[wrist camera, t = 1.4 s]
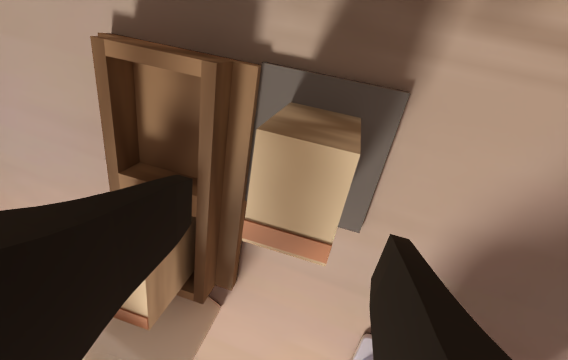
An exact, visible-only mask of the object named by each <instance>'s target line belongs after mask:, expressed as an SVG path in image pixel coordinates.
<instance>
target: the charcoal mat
mask: <svg viewBox="0 0 568 360" xmlns="http://www.w3.org/2000/svg"><path fill="white" fill-rule="evenodd" d="M409 95H410V93H409V92H406V91H401V90H396V89H391V88H386V87H382V86H377V85H372V84H367V83H363V82H358V81H353V80H348V79H343V78H339V77H334V76H329V75H324V74H320V73H315V72H310V71H305V70H300V69H296V68H291V67H286V66H281V65H276V64H272V63H267V62H262V64H261V72H260V80H259V88H258V96H257V104H256V112H255V120H254V128H253V136H252V145H251V153H250V161H249V169H248V177H247V185H246V193H245V201H247V199H248V191H249V183H250V175H251V168H252V160H253V152H254V144H255V137H256V129H257V128H258V127H260V126H261V125H262V124H263V123H265V122H266V121H267V120H269V119H270V118H271V117H272V116H274V115H275V114H276V113H278V112H279V111H280V110H281V109H283V108H284V107H285V106H287V105H288V104H289V103H290V102H292V103H297V104H301V105H306V106H310V107H314V108H319V109H323V110H328V111H332V112H337V113H341V114H345V115H350V116H354V117H359V118H361V151H360V157H359V161H358V164H357V167H356V170H355V173H354V176H353V180H352V183H351V186H350V189H349V192H348V195H347V199H346V202H345V205H344V208H343V211H342V214H341V218H340V221H339V224H338V227H340V228H343V229H347V230H350V231H354V232H357V233H360V230H361V227H362V224H363V222H364V219H365V216H366V213H367V211H368V208H369V205H370V202H371V200H372V197H373V194H374V191H375V189H376V186H377V183H378V180H379V178H380V175H381V172H382V169H383V167H384V164H385V161H386V158H387V156H388V153H389V150H390V147H391V144H392V142H393V139H394V136H395V133H396V131H397V128H398V125H399V122H400V120H401V117H402V114H403V111H404V109H405V106H406V103H407V100H408V98H409Z"/></svg>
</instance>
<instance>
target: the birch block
mask: <svg viewBox="0 0 568 360" xmlns="http://www.w3.org/2000/svg"><path fill="white" fill-rule="evenodd" d="M360 151H361V118H359V117H354V116H350V115H345V114H341V113H337V112H332V111H328V110H323V109H319V108H314V107H310V106H306V105H301V104H297V103H292V102H290V103H289V104H288V105H287V106H285V107H284V108H283V109H281V110H280V111H279V112H278V113H276V114H275V115H274V116H272V117H271V118H270V119H269V120H267V121H266V122H265V123H263V124H262V125H261V126H260V127H258V128H257V129H256V137H255V144H254V152H253V160H252V168H251V175H250V183H249V191H248V199H247V206H246V214H245V220H244V225H243V232H242V241H244V242H248V243H251V244H254V245H257V246H261V247H264V248H267V249H270V250H274V251H277V252H280V253H283V254H287V255H290V256H293V257H296V258H300V259H303V260H306V261H309V262H313V263H316V264H319V265H323V266H325V265H326V263H327V260H328V256H329V253H330V250H331V247H332V243H333V240H334V237H335V233H336V230H337V227H338V224H339V221H340V218H341V214H342V211H343V208H344V205H345V202H346V199H347V195H348V192H349V189H350V186H351V183H352V180H353V176H354V173H355V170H356V167H357V164H358V161H359V157H360Z"/></svg>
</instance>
